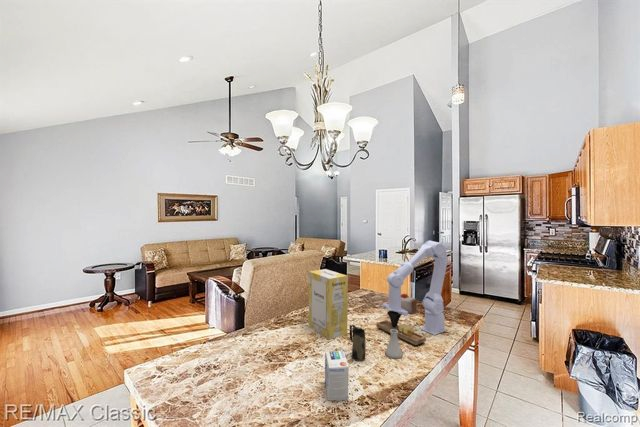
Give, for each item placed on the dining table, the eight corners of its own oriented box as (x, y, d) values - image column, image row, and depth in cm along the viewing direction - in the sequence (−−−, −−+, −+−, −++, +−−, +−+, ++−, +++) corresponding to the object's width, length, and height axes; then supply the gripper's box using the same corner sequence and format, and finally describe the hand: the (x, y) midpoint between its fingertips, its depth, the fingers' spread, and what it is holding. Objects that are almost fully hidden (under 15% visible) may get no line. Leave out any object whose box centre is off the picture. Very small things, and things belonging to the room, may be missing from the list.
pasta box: (308, 325, 149) (308, 271, 149) (325, 321, 155) (325, 269, 155) (329, 339, 134) (329, 278, 134) (347, 333, 140) (347, 275, 140)
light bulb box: (324, 381, 102) (324, 350, 102) (343, 380, 102) (343, 350, 102) (327, 401, 91) (327, 367, 91) (349, 400, 92) (349, 366, 92)
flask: (403, 360, 116) (403, 335, 116) (384, 358, 118) (385, 333, 117) (402, 351, 123) (402, 327, 123) (384, 349, 125) (384, 326, 125)
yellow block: (404, 331, 139) (404, 323, 139) (413, 334, 134) (413, 327, 134) (398, 333, 136) (398, 325, 136) (407, 337, 132) (407, 329, 132)
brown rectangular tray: (386, 325, 151) (386, 319, 151) (426, 343, 131) (426, 336, 131) (375, 328, 146) (375, 322, 146) (414, 347, 126) (414, 341, 126)
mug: (368, 359, 117) (368, 329, 117) (357, 363, 114) (358, 332, 114) (355, 350, 124) (355, 322, 123) (345, 354, 120) (345, 325, 120)
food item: (390, 309, 175) (390, 292, 174) (397, 306, 180) (397, 290, 180) (411, 315, 165) (411, 298, 165) (418, 311, 170) (418, 295, 170)
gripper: (377, 296, 145) (377, 323, 145) (401, 304, 133) (400, 333, 133) (388, 293, 149) (387, 320, 149) (411, 301, 136) (410, 330, 137)
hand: (394, 326), depth 141 cm, fingers closed
